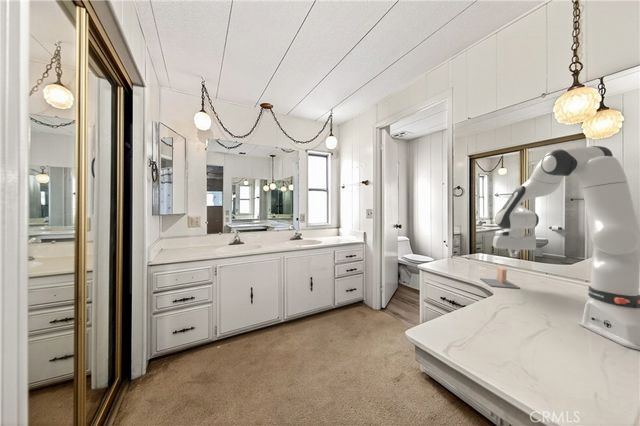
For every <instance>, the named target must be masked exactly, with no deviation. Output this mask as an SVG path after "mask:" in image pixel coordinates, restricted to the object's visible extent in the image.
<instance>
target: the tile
mask: <svg viewBox="0 0 640 426" xmlns="http://www.w3.org/2000/svg"><path fill="white" fill-rule="evenodd" d="M496 270H497V271H496V279H497V281H499V282H500V283H503V284H506V280H507V269H506V268H504V267H502V266H501V267H500V266H497V267H496Z"/></svg>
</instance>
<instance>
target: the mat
mask: <svg viewBox="0 0 640 426" xmlns="http://www.w3.org/2000/svg"><path fill="white" fill-rule="evenodd" d="M479 280H481V281H482V282H483V283H485V284H487V285H488V286H490V287H491V288H504V289H518V290H520V289H521V287H519V285H517V284H514V283H512V282H511V281H509V280H507V279H506V284H503V283H500V282H499V281H497V278H482V277H480V279H479Z"/></svg>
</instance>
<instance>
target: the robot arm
mask: <svg viewBox="0 0 640 426" xmlns="http://www.w3.org/2000/svg"><path fill="white" fill-rule="evenodd" d="M570 175H573V176H576V177H578V178H579V180H580V186H581V191H582V196H583V199H584V203H585V208H586V217H587V223H588V225H587V226H588V230H589V236H590V241H591V243H592V245H593V248H592V259H591V268H590V269H591V270H590V286H588V289H587V291H588V292H587V294H588V295H587V296H589V297H588V300H587V302H586V303H585V305H584V310H583V315H582V320H581V321H579V323H578V324H579V326H581V327H583V328H585V329H587V330H589V331H592V332H594V333H595V334H598V335H600V336H602V337H604V338H606V339H609V340H611V341H613V342H615V343H617V344H620V345H622V346H624V347H627V348H630V349H634V350H638V351H640V294H639V291H640V287H639V286H640V228H639V225H638V220H637V215H636V211H635V208H634V207H635V206H634V204H633V203H634V202H633V198H632V195H631V191H630V187H629V183H628V179H627V176H626V173H625V171H624V168H623V166H622V164H621V163H620V161H619V160H618V158H616V157H614V156H613V152H612V150H611V149H609V148H608V147H606V146H600V145H597V146H596V145H592V146H581V147H580V146H574V147H568V148H563V149H555V150H551V151H549V152H547V153H546V154H545V155H544V156H543V157H542V159H540V161H539V162H538V163H537V165H536V167H535V168H534V169H533V172H532V173H531V176H530V177H529V178H528V179H527V181H525V182H524V183H523V184H521V185H519V186H517V187H516V188H515V189H514V191H513V192H512V193H511V195H510V196H509V198H508V200H507V201H506V202H505V204H504V205H503V207H502V208H501V209H499V211H498V212H497V213H496V215H495V217H494V222H495V224H496V226H497V227H499V228H500V230H495V231H494V237H493V238H492V239H493V241H492V246H493V248H495V249H501V250H502V249H505V250H506V249H507V251H508V253H509V257H511V258H517V257H518V254H520V252H521V250H526V251H535V250H536V249H537V243H536V242H537V241H536V240H537V237H536V235H535V234H533V233H525V231H526V229H527V230H529V229H535V228H536V227H537V226H538V225H539V221H540V217H539V215H538V214H537V213H536V212H535V211H531V210H530V209H527V208H526V206H525V205H524V204H522V203H524V202H526V201H528V200H531V199H536V198H541V197H545V196H548V195H551V194H553V193H554V192H555V191H556V190H558V188H559V186H560V185H561V183H562V182H563V179H564V178H565V177H568V176H570ZM513 250H514V251H515V252H514V253H513V252H512V251H513Z"/></svg>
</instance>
